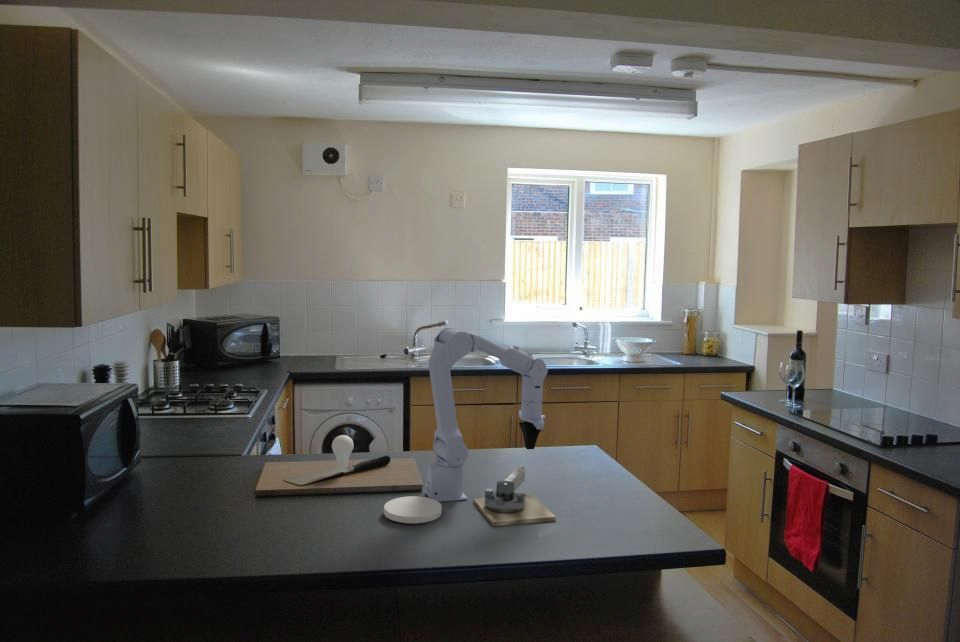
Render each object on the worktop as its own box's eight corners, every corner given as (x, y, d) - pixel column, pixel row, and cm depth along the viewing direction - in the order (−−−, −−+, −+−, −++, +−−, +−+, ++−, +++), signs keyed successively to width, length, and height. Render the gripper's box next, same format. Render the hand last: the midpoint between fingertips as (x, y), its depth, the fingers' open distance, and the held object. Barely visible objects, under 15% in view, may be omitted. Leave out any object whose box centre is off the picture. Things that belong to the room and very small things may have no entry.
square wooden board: (492, 526, 166) (493, 520, 166) (472, 501, 182) (472, 496, 181) (555, 520, 170) (555, 515, 170) (530, 497, 186) (530, 492, 186)
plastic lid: (449, 510, 176) (449, 500, 176) (430, 530, 163) (430, 520, 162) (397, 503, 180) (397, 493, 179) (374, 522, 166) (374, 512, 166)
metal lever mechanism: (518, 515, 170) (519, 492, 169) (479, 509, 173) (479, 486, 172) (539, 490, 188) (540, 469, 188) (503, 485, 192) (504, 464, 191)
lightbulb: (341, 477, 197) (342, 439, 196) (327, 473, 201) (327, 435, 200) (357, 472, 202) (358, 435, 201) (343, 468, 206) (343, 431, 205)
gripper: (555, 405, 188) (553, 455, 189) (535, 394, 202) (533, 440, 203) (531, 406, 186) (529, 456, 187) (512, 395, 200) (510, 442, 201)
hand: (529, 448), depth 195 cm, fingers closed
